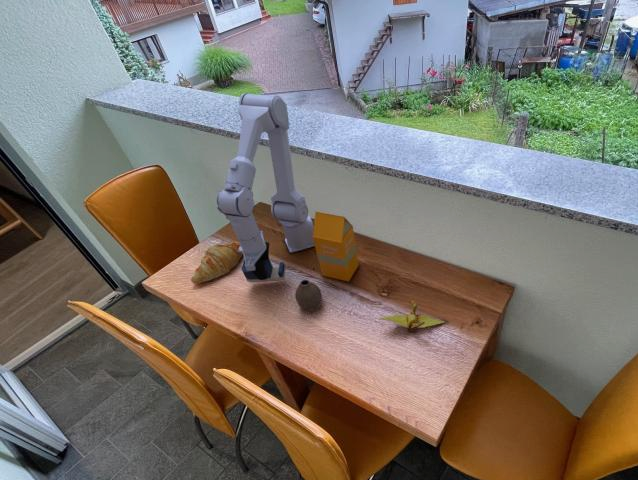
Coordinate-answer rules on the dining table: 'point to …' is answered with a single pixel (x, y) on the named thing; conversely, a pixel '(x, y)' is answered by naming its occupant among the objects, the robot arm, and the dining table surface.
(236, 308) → the dining table surface
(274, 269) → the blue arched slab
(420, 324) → the origami crane
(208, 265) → the croissant
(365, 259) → the dining table surface
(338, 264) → the orange juice
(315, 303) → the vase
